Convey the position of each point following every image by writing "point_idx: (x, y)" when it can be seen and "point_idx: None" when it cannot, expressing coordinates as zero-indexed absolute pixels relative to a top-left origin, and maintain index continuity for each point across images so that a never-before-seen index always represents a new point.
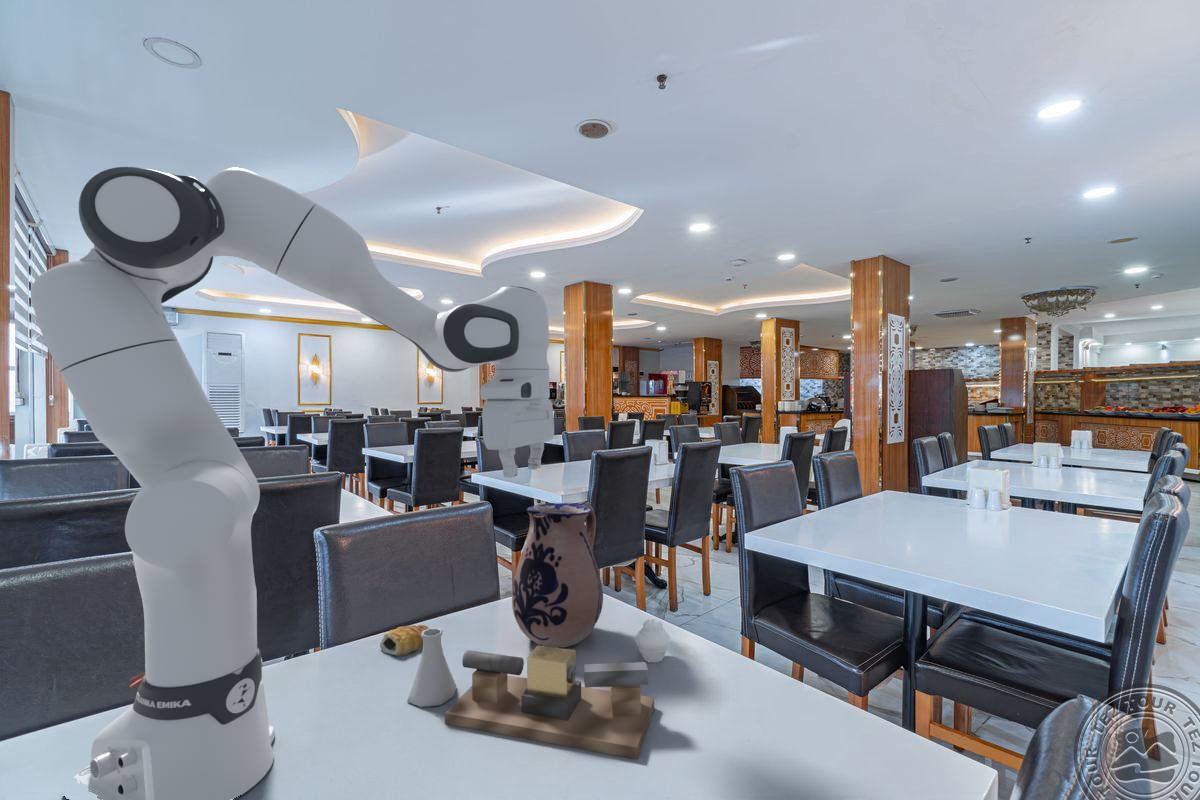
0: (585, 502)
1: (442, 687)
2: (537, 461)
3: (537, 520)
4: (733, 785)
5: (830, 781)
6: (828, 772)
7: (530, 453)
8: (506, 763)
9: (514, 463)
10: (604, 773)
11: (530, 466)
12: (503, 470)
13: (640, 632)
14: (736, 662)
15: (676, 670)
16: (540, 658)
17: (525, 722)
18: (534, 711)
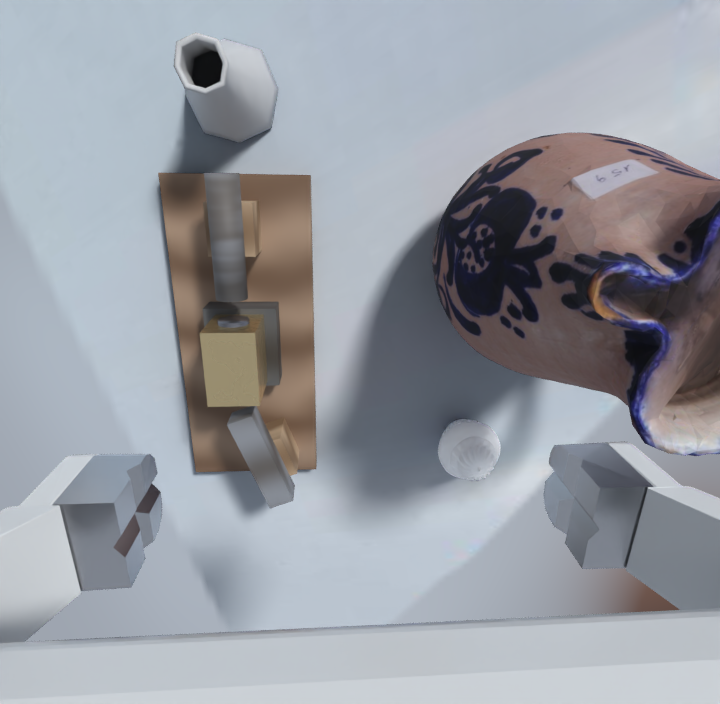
0: None
1: (214, 125)
2: (573, 552)
3: (583, 288)
4: (198, 555)
5: (240, 627)
6: (254, 626)
7: (710, 514)
8: (122, 315)
9: (44, 613)
10: (159, 435)
11: (559, 469)
12: (45, 480)
13: (470, 436)
14: (470, 540)
15: (428, 470)
16: (206, 358)
17: (189, 317)
18: None
